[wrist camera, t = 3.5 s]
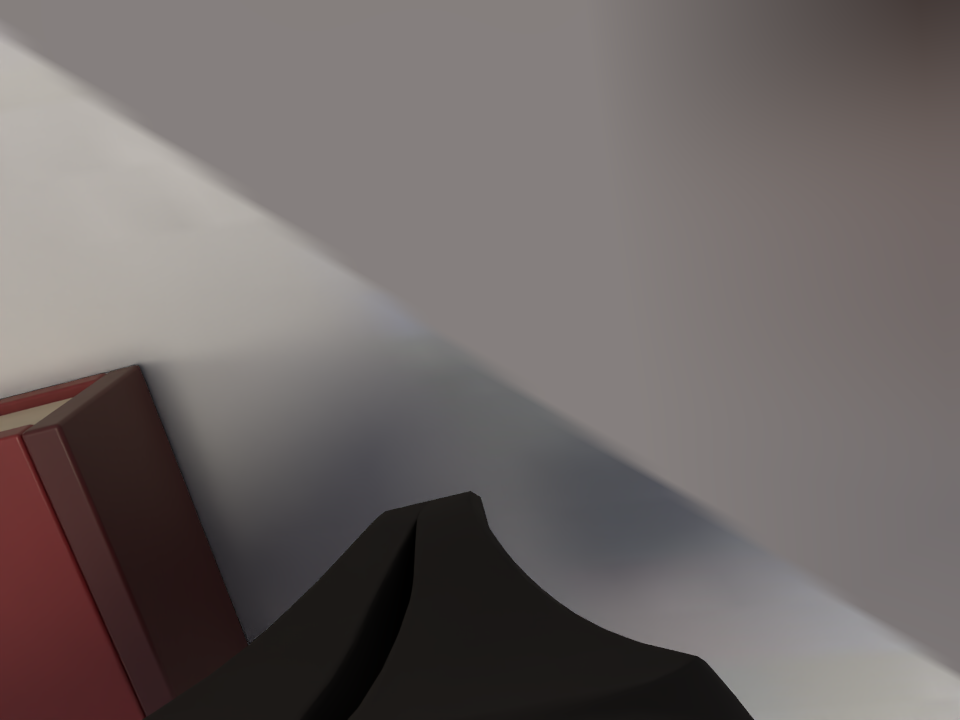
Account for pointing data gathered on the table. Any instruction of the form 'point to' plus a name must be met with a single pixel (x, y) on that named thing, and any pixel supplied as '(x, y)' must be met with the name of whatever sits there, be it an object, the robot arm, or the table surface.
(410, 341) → the table surface
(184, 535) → the book
